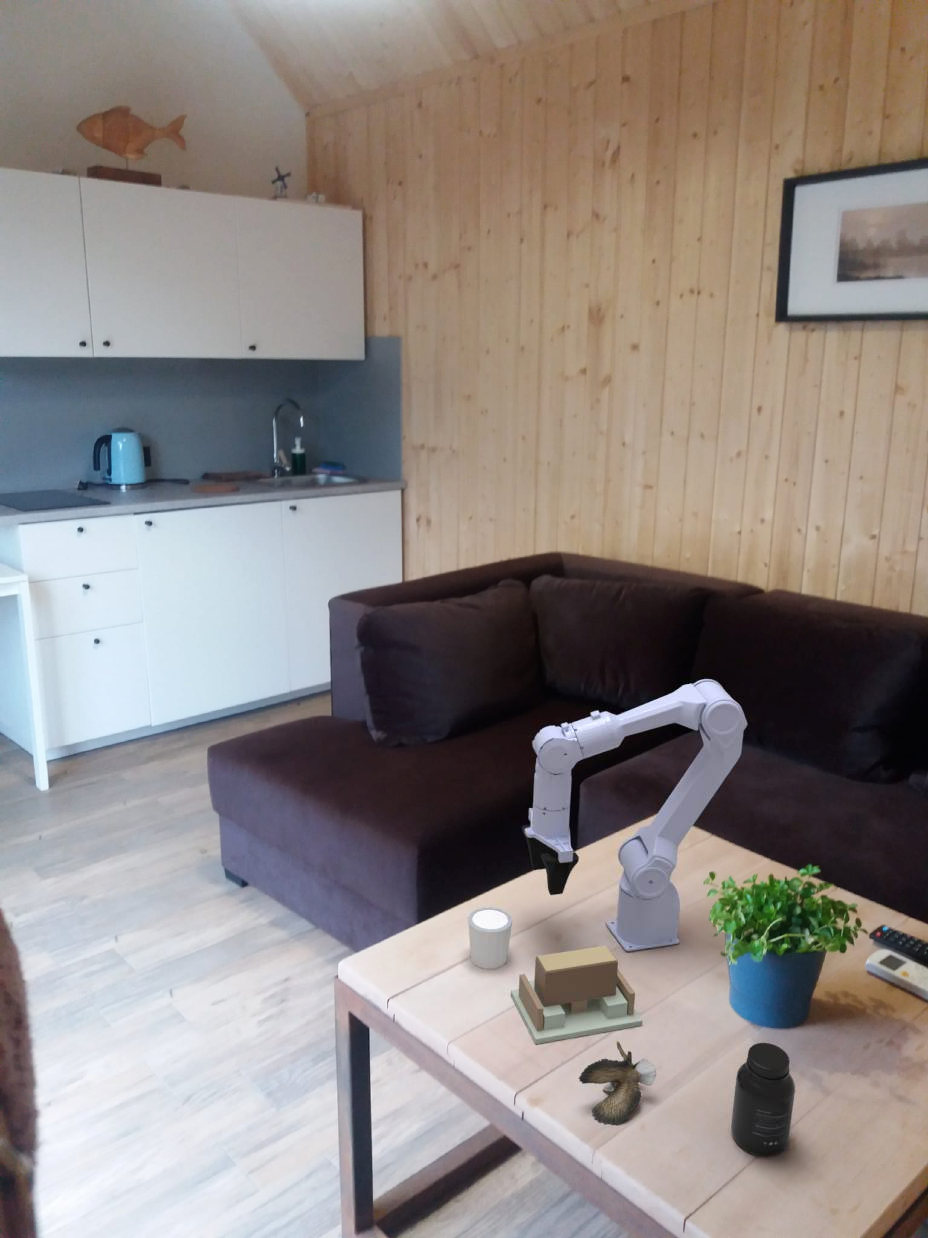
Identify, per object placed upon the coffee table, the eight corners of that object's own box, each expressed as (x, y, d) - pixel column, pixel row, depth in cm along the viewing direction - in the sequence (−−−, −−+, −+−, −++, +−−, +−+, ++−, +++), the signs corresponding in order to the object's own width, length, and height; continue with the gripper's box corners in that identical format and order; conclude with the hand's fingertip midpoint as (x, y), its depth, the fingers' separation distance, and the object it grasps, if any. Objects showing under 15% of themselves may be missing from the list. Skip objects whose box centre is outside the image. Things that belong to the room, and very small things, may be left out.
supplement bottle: (722, 1117, 126) (731, 1037, 123) (775, 1115, 127) (785, 1034, 124) (741, 1161, 120) (751, 1077, 116) (797, 1158, 120) (808, 1074, 117)
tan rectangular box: (604, 978, 148) (606, 944, 147) (615, 995, 144) (618, 960, 143) (534, 989, 145) (535, 955, 144) (543, 1007, 142) (545, 972, 140)
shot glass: (511, 947, 160) (513, 908, 158) (509, 973, 154) (511, 933, 152) (469, 943, 161) (470, 905, 159) (464, 969, 154) (465, 930, 152)
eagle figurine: (599, 1057, 135) (564, 1084, 128) (632, 1028, 132) (598, 1053, 125) (637, 1108, 132) (603, 1138, 124) (671, 1079, 129) (639, 1109, 121)
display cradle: (610, 978, 153) (612, 953, 152) (642, 1025, 143) (644, 999, 142) (510, 995, 149) (511, 969, 147) (535, 1044, 139) (536, 1017, 137)
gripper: (512, 785, 162) (509, 861, 166) (543, 827, 148) (539, 908, 152) (553, 781, 164) (549, 856, 167) (587, 822, 150) (582, 902, 154)
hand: (547, 880), depth 160 cm, fingers open, 7 cm apart
